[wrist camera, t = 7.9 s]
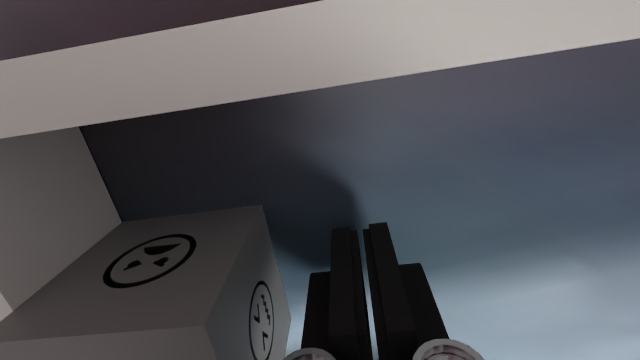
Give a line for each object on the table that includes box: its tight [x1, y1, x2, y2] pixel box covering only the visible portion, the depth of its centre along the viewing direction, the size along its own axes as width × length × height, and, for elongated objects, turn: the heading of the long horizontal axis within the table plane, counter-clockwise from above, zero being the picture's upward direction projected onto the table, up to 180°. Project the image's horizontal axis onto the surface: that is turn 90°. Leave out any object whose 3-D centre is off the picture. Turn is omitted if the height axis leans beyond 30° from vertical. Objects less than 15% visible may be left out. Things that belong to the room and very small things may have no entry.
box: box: [0, 0, 640, 321], centre depth 9 cm, size 14×15×4 cm
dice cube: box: [0, 205, 291, 360], centre depth 9 cm, size 5×5×5 cm
